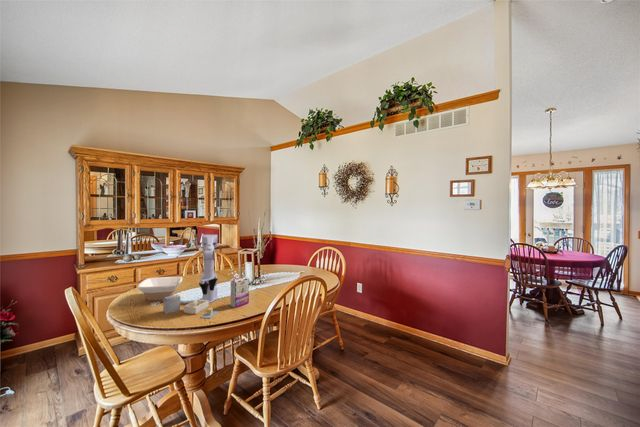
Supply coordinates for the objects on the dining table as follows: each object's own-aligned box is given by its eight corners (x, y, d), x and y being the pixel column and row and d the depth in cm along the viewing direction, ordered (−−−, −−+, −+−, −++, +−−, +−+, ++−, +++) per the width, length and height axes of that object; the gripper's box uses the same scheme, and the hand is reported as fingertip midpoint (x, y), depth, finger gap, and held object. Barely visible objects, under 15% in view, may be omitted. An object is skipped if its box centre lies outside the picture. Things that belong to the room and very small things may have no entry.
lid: (209, 311, 163) (209, 305, 162) (218, 312, 162) (218, 306, 162) (200, 318, 153) (200, 311, 152) (210, 319, 152) (210, 312, 152)
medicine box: (177, 308, 165) (177, 294, 165) (180, 310, 162) (180, 296, 162) (163, 312, 159) (163, 297, 159) (166, 314, 156) (166, 299, 156)
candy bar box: (243, 301, 180) (244, 276, 180) (248, 303, 177) (249, 278, 177) (229, 306, 171) (230, 280, 170) (235, 308, 168) (236, 281, 167)
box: (197, 305, 170) (197, 299, 170) (208, 307, 169) (208, 300, 169) (183, 312, 159) (183, 306, 159) (195, 314, 157) (195, 307, 157)
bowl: (177, 302, 175) (177, 285, 175) (133, 304, 168) (133, 287, 168) (184, 290, 198) (184, 276, 198) (146, 292, 191) (146, 277, 191)
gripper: (209, 267, 174) (208, 288, 174) (195, 272, 159) (195, 295, 160) (219, 267, 172) (219, 289, 173) (206, 273, 158) (206, 296, 159)
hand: (208, 292), depth 166 cm, fingers open, 7 cm apart
